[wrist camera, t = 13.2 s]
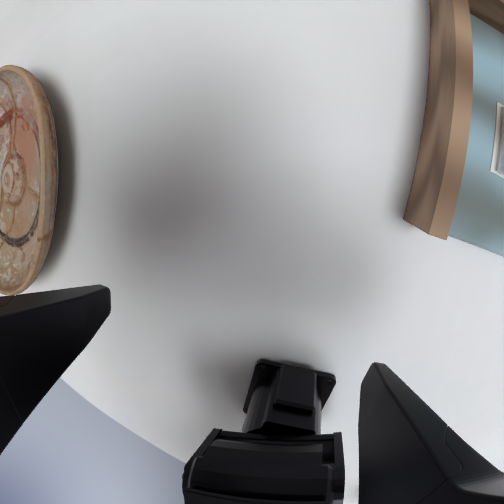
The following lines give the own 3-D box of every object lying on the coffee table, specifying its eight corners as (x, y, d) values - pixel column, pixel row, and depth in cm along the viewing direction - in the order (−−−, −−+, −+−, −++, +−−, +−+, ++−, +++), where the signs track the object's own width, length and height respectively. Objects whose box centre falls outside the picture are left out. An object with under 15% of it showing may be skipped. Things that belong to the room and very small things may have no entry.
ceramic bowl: (-31, 185, 25) (-55, 191, 20) (35, 39, 18) (5, 31, 13) (35, 315, 27) (8, 333, 22) (129, 169, 20) (85, 172, 15)
